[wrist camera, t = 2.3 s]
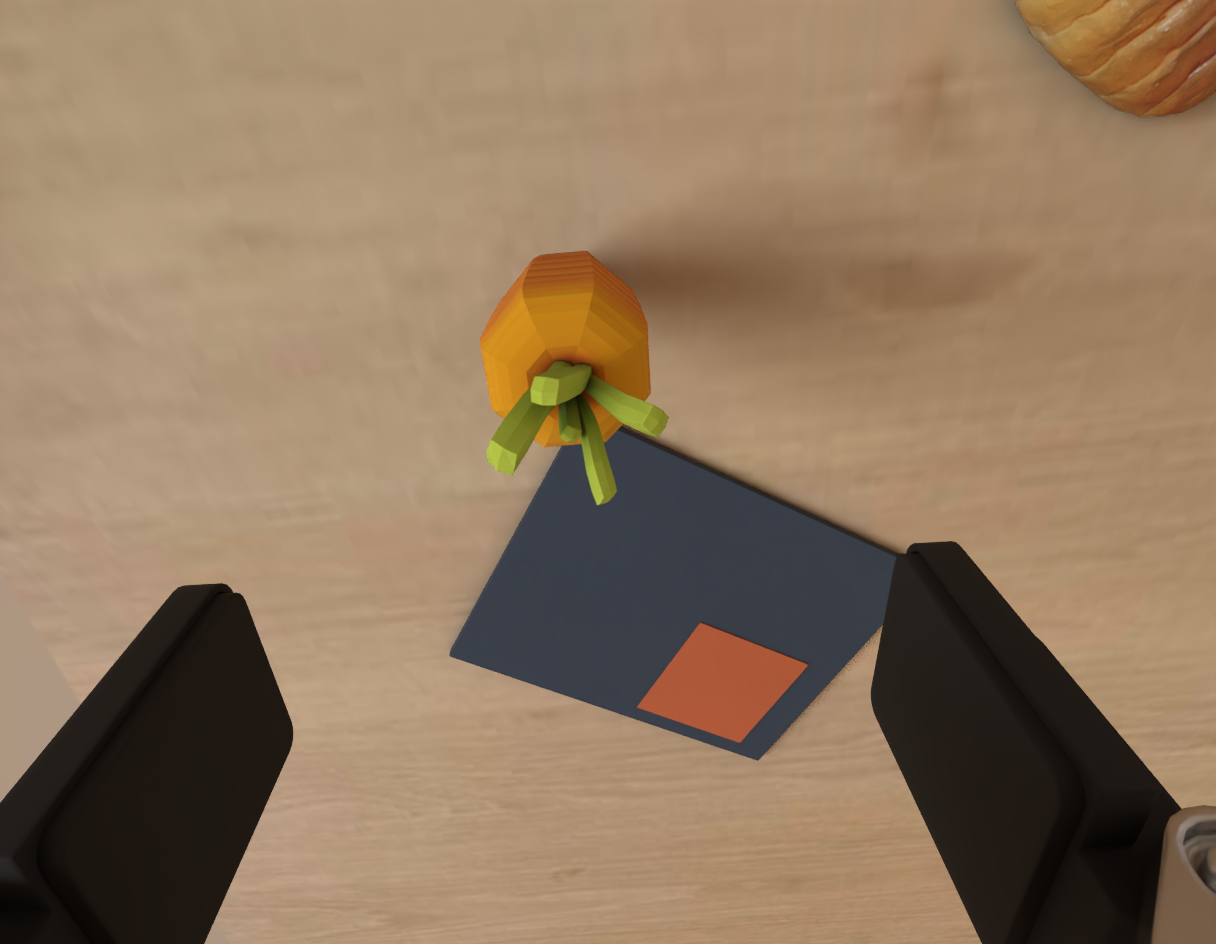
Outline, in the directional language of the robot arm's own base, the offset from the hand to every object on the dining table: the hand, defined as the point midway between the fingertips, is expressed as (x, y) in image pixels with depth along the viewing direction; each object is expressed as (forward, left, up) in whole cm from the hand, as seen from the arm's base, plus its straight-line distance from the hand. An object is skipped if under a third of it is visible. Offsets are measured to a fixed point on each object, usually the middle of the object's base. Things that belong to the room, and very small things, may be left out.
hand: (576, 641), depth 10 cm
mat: (+13, -13, -21) cm, 28 cm away
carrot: (0, 0, -21) cm, 21 cm away
